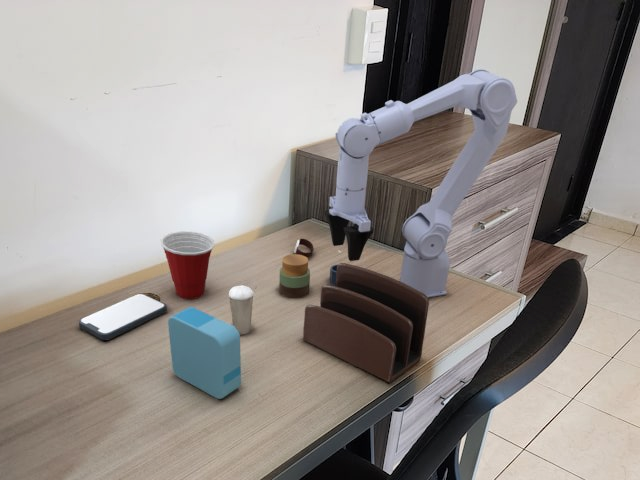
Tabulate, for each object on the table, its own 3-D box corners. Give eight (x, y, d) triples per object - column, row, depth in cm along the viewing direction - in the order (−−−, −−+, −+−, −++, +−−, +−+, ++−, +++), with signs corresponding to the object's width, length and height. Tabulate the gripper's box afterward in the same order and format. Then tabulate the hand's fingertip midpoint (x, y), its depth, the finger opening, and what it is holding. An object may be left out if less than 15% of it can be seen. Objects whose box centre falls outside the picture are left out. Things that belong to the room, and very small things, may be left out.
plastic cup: (214, 306, 126) (211, 252, 120) (161, 305, 126) (156, 250, 120) (219, 281, 135) (217, 230, 129) (170, 280, 135) (165, 229, 129)
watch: (295, 246, 152) (295, 232, 150) (314, 247, 151) (315, 233, 149) (292, 260, 145) (292, 245, 143) (312, 261, 145) (313, 246, 143)
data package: (241, 390, 103) (240, 328, 96) (223, 402, 100) (220, 340, 93) (191, 363, 109) (186, 303, 103) (172, 374, 106) (166, 314, 100)
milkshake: (257, 337, 117) (257, 289, 111) (229, 336, 117) (227, 289, 111) (258, 324, 121) (258, 278, 115) (231, 324, 121) (229, 277, 115)
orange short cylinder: (302, 263, 133) (302, 252, 131) (311, 274, 128) (312, 263, 127) (278, 267, 131) (278, 256, 130) (287, 278, 127) (287, 266, 125)
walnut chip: (302, 282, 136) (302, 272, 135) (313, 295, 131) (314, 285, 130) (275, 286, 134) (275, 276, 133) (285, 300, 129) (285, 289, 128)
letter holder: (335, 321, 122) (340, 255, 114) (421, 361, 111) (433, 291, 103) (301, 340, 116) (304, 272, 108) (389, 384, 105) (400, 312, 97)
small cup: (343, 276, 139) (344, 263, 137) (351, 284, 135) (353, 271, 134) (326, 278, 137) (327, 265, 136) (334, 287, 134) (335, 274, 132)
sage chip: (302, 272, 135) (303, 262, 133) (314, 285, 130) (314, 275, 128) (275, 276, 133) (275, 266, 131) (285, 289, 128) (286, 279, 126)
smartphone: (141, 298, 129) (76, 327, 119) (140, 291, 128) (75, 320, 118) (170, 312, 125) (105, 343, 114) (169, 305, 124) (104, 336, 113)
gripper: (317, 176, 122) (313, 240, 130) (348, 201, 111) (343, 269, 119) (349, 173, 125) (344, 236, 132) (383, 197, 113) (375, 264, 121)
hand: (345, 252), depth 126 cm, fingers open, 7 cm apart
